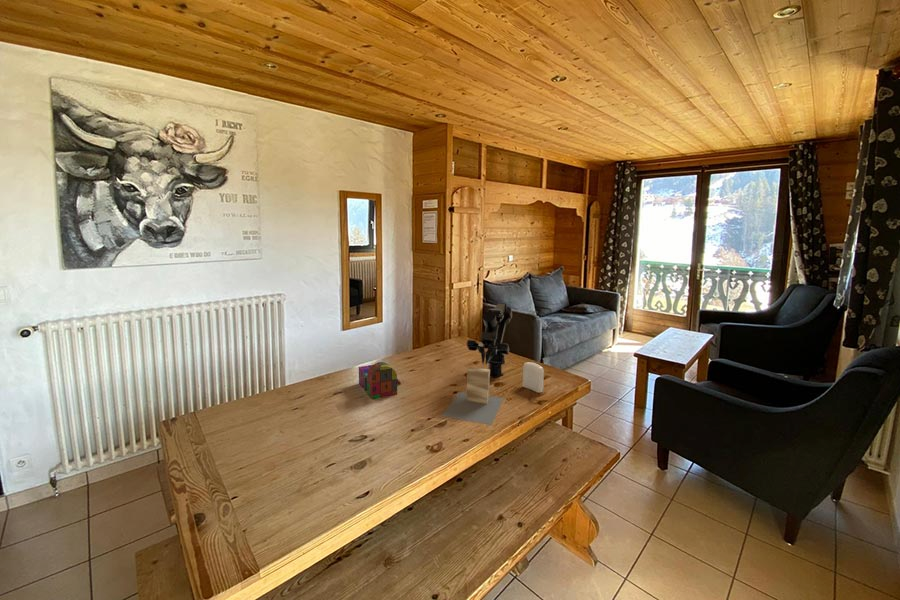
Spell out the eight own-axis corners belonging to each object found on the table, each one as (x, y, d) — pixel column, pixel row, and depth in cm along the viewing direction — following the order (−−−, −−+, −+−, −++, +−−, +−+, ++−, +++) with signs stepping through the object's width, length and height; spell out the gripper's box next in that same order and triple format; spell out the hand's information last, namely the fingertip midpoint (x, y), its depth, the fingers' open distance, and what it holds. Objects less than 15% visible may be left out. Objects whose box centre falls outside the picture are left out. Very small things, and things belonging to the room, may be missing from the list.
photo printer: (520, 386, 189) (522, 361, 187) (526, 384, 192) (528, 359, 189) (538, 394, 181) (539, 367, 179) (544, 391, 184) (546, 365, 182)
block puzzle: (408, 392, 182) (408, 362, 179) (371, 400, 174) (371, 368, 171) (389, 373, 203) (388, 346, 200) (355, 379, 195) (354, 351, 192)
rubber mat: (459, 393, 181) (459, 391, 180) (503, 400, 174) (503, 398, 174) (441, 418, 158) (441, 416, 158) (491, 426, 152) (491, 424, 152)
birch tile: (468, 397, 175) (469, 366, 172) (489, 400, 172) (490, 369, 169) (466, 400, 172) (467, 369, 169) (487, 403, 169) (488, 372, 166)
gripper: (468, 322, 184) (460, 353, 176) (509, 326, 178) (503, 358, 170) (472, 334, 193) (465, 364, 184) (511, 338, 187) (506, 369, 179)
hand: (484, 363), depth 179 cm, fingers closed
